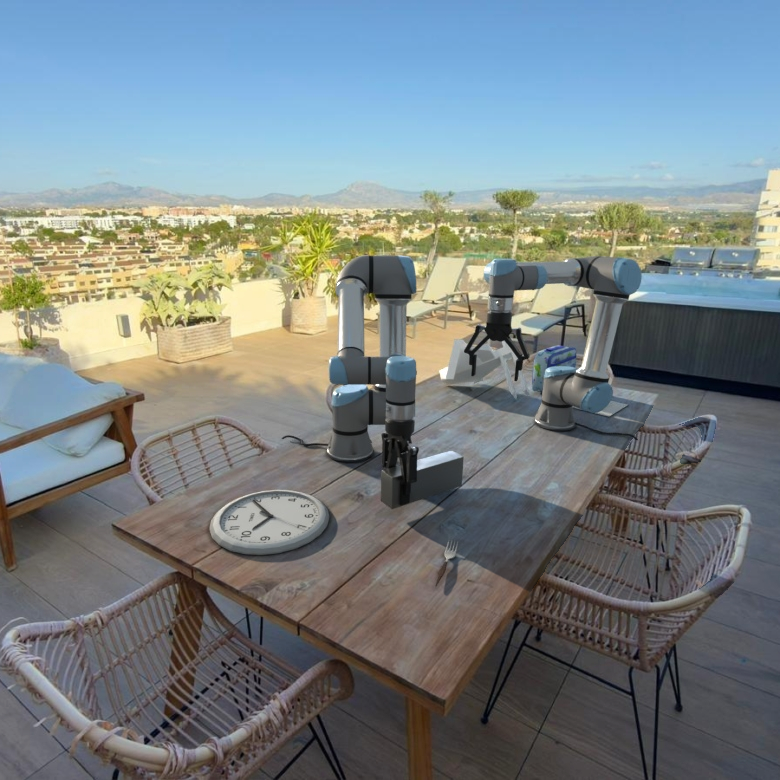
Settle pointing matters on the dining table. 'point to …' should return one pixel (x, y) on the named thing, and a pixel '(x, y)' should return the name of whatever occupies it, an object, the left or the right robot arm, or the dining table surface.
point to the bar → (423, 478)
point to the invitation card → (611, 408)
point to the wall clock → (269, 522)
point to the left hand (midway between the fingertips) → (398, 498)
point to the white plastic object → (480, 365)
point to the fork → (448, 555)
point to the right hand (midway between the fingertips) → (494, 377)
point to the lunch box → (551, 363)
